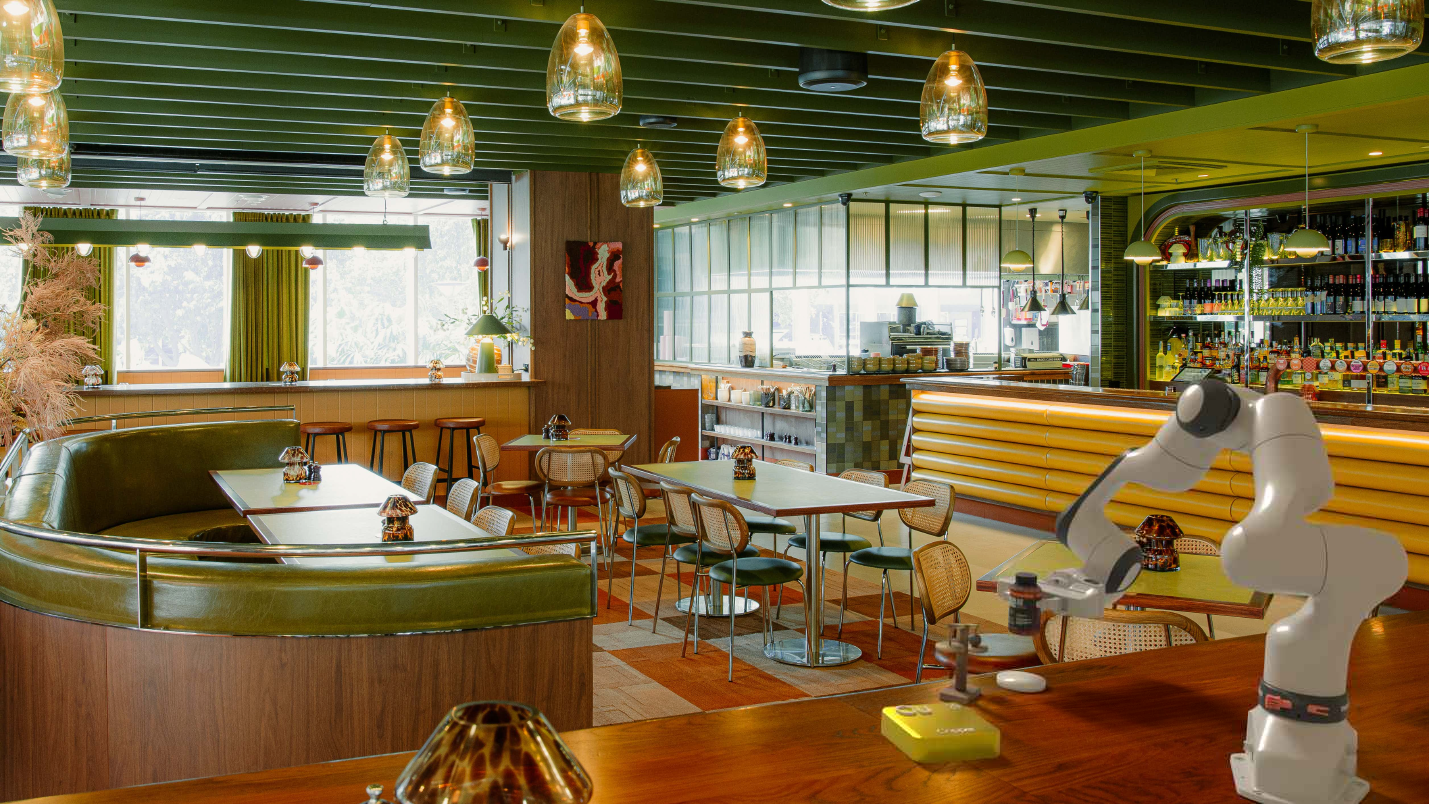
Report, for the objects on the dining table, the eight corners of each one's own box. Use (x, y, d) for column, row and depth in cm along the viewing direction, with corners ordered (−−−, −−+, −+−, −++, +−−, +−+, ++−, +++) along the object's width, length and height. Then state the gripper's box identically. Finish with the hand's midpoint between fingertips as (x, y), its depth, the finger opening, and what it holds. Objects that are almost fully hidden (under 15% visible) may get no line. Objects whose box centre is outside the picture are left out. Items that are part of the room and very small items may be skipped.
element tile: (917, 767, 167) (918, 736, 166) (876, 732, 181) (877, 703, 181) (1004, 759, 171) (1005, 729, 170) (957, 726, 185) (959, 698, 185)
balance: (955, 713, 190) (959, 629, 189) (928, 707, 193) (932, 624, 192) (990, 686, 206) (993, 608, 205) (964, 680, 209) (968, 604, 208)
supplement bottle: (1036, 629, 210) (1040, 571, 209) (1043, 638, 204) (1046, 578, 203) (1005, 627, 210) (1008, 569, 209) (1010, 636, 204) (1013, 576, 204)
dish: (1037, 695, 201) (1038, 689, 201) (990, 685, 206) (990, 679, 206) (1051, 683, 209) (1051, 677, 209) (1004, 674, 214) (1005, 668, 214)
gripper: (1022, 566, 223) (979, 573, 214) (1112, 586, 206) (1069, 595, 198) (1021, 596, 223) (977, 605, 214) (1110, 619, 207) (1067, 629, 198)
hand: (1022, 600), depth 206 cm, fingers closed on supplement bottle, 6 cm apart
